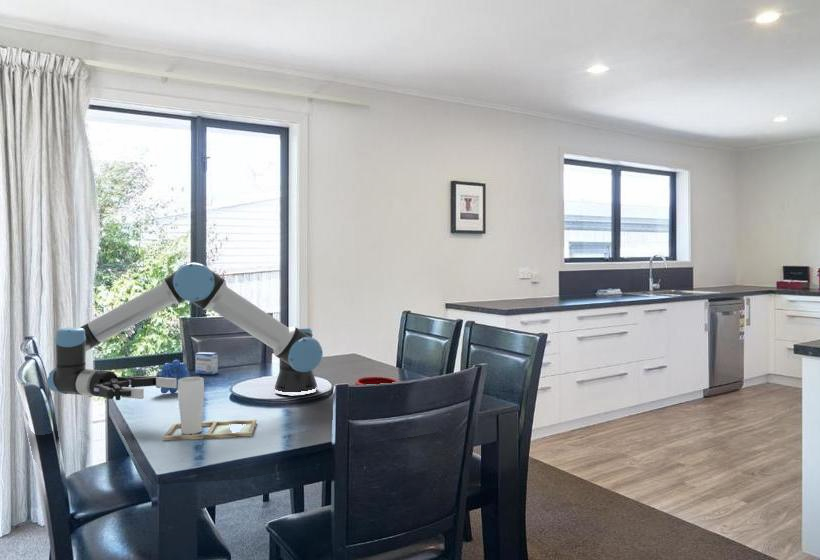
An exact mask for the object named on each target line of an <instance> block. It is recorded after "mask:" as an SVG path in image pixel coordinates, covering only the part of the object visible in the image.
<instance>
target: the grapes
mask: <svg viewBox="0 0 820 560" xmlns="http://www.w3.org/2000/svg"><path fill="white" fill-rule="evenodd" d="M187 368H188V365H187V362H181V361H180V359H179V360H178V359H174V360H173V361H171V363H170V362H165V363H164V364H162V368H161V369H162V370H159V371H157V372H156V374H155V376H157V374H159V375H161V376H162V378H175V379H177V388H166V387H156V388H157V389H160V392H161V393H162V394H167V393H168V392H169V393H170V394H175V393H176V392H178V380H179V379H181V378H185V377H190V371H189V370H188V369H187Z"/></svg>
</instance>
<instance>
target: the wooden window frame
mask: <svg viewBox="0 0 820 560" xmlns="http://www.w3.org/2000/svg"><path fill="white" fill-rule="evenodd" d="M256 422H258V421H257V419H255V418H254V419H239V420H237V419H236V420H215V421H214V420H212V421H202V427H209V429H208V431H207V433H197V434H192V435H186V434H182V435H181V434H180V435H179V434H178V435H171V434H173V433H174V432H175V431H176V430H177V428H181V422H174V423H173V424H172V425H171V427H170V428H169V429H168V430H167V432H165V433H164V435H162V441H163V440H171V441H179V440H178V439H191V440H204V439H203V438H211V439H224V438H223V437H231V438H237V437H236V436H251V437H253V435H252V434H254V432H255V429H256V426H255V425H257V423H256ZM229 424H230V425H231V424H242V425H243V424H246V425H245V426H246V427H245V426H244V427H243V428H242V429H241V430H240V432H236V433H232V431H231V430H230V425H229ZM228 425H229V426H228ZM254 428H255V429H254ZM175 429H176V430H175ZM174 430H175V431H174ZM253 431H254V432H253ZM234 436H235V437H234Z"/></svg>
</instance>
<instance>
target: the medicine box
mask: <svg viewBox="0 0 820 560" xmlns="http://www.w3.org/2000/svg"><path fill="white" fill-rule="evenodd" d="M218 354H219V353H218V352H207V351H205V352H204V351H199V352H196V353H195V374H196V375H215V374H217V373H218V370H219V369H218V368H219V367H218V363H219V362H218V361H219V360H218Z"/></svg>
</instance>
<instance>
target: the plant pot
mask: <svg viewBox="0 0 820 560" xmlns="http://www.w3.org/2000/svg"><path fill="white" fill-rule="evenodd" d="M392 382H399V381H398V380H397V379H394V378H391V377H384V376H366V377H365V376H364V377H360V378H357V379H356V380H355V385H366V384H376V385H378V384H380V383H392ZM355 385H354V386H355Z"/></svg>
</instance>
